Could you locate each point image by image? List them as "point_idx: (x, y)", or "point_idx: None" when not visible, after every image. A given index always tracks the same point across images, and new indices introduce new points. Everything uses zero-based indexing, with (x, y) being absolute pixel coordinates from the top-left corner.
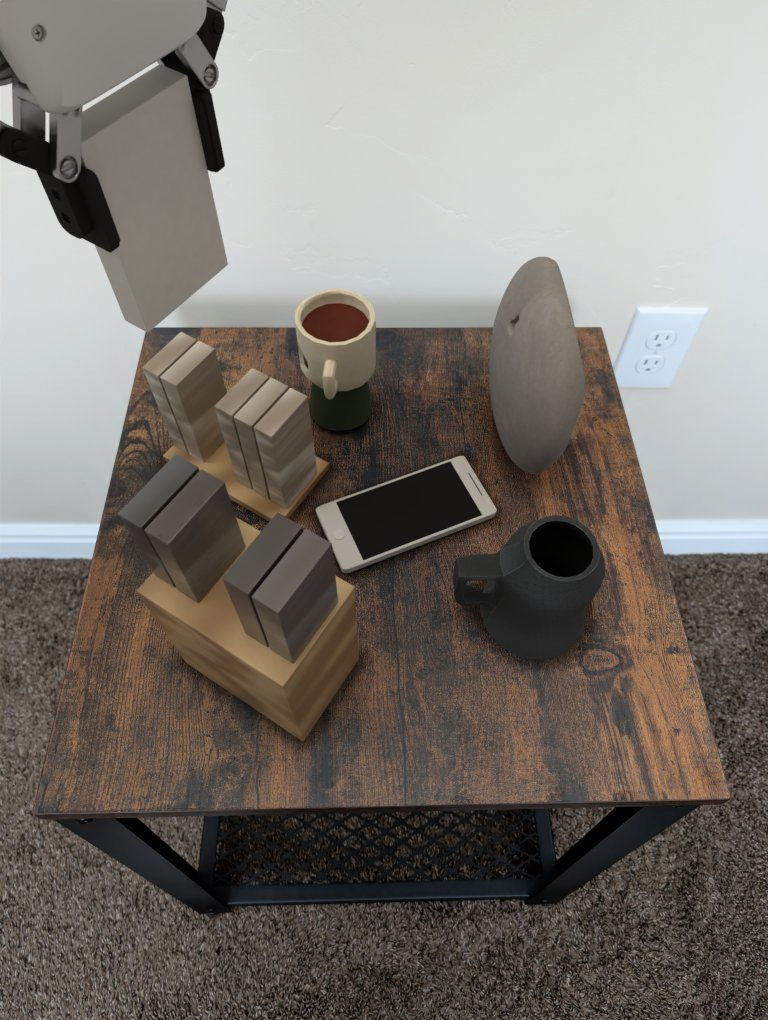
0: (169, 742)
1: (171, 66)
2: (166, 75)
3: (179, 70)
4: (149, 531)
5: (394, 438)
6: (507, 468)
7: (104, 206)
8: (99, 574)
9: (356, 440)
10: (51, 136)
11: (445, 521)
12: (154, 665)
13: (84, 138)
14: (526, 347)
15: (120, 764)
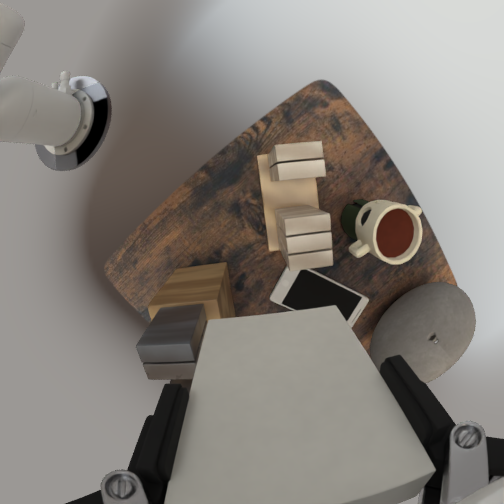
0: (148, 290)
1: (441, 466)
2: (406, 494)
3: (435, 473)
4: (144, 367)
5: (360, 258)
6: (374, 316)
7: None
8: (176, 191)
9: (346, 241)
10: None
11: None
12: (164, 257)
13: None
14: (418, 358)
15: (128, 280)
